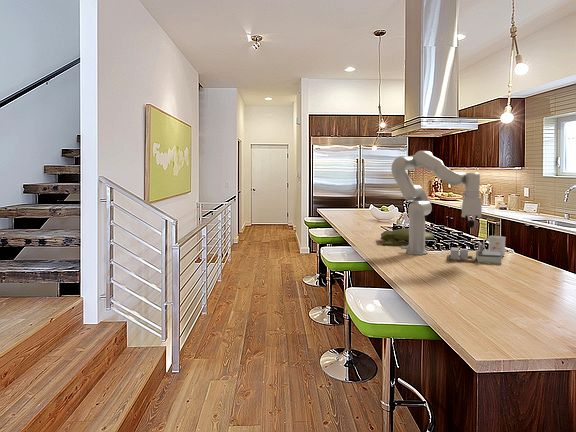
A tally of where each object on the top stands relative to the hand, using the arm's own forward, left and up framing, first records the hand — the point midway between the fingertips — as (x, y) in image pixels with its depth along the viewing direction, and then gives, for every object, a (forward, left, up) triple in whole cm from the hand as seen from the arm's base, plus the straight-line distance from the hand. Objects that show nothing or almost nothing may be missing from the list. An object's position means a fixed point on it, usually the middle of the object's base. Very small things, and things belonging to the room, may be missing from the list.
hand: (471, 227), depth 272 cm
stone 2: (-8, -3, -19) cm, 21 cm away
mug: (+15, +18, -19) cm, 30 cm away
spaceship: (-36, +51, -19) cm, 65 cm away
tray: (-5, 0, -19) cm, 19 cm away
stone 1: (-8, +3, -19) cm, 20 cm away
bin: (+10, 0, -19) cm, 21 cm away
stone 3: (-3, 0, -19) cm, 19 cm away
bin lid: (+10, 0, -15) cm, 18 cm away
